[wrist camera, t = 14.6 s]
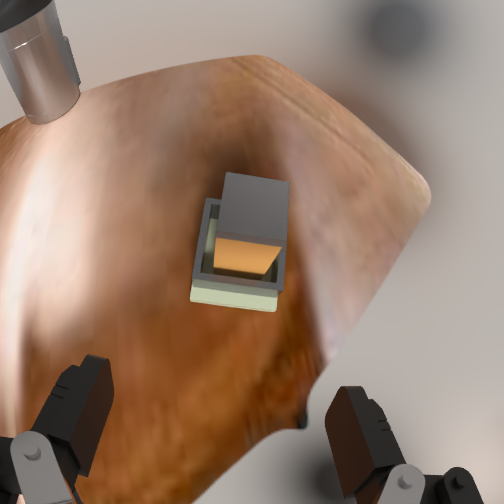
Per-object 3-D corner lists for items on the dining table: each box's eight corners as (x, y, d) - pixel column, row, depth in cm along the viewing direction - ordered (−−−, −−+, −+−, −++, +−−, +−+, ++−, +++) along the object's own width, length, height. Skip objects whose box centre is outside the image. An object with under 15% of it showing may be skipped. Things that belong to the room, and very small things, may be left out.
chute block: (219, 229, 30) (226, 172, 21) (264, 236, 31) (289, 182, 21) (213, 273, 29) (216, 230, 19) (260, 280, 29) (286, 240, 20)
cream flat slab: (206, 207, 32) (206, 202, 31) (280, 218, 33) (283, 213, 32) (190, 301, 29) (189, 298, 28) (273, 312, 30) (276, 310, 28)
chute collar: (205, 212, 31) (206, 197, 28) (281, 223, 31) (288, 210, 29) (193, 286, 28) (191, 278, 25) (275, 297, 29) (283, 290, 26)
